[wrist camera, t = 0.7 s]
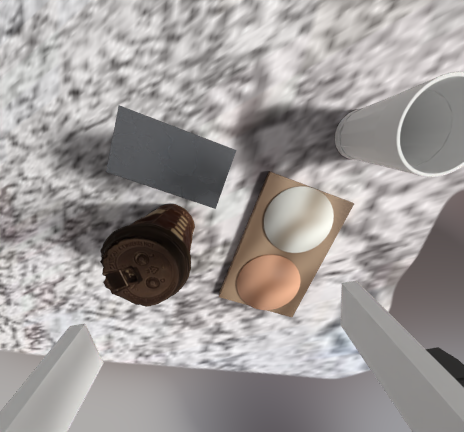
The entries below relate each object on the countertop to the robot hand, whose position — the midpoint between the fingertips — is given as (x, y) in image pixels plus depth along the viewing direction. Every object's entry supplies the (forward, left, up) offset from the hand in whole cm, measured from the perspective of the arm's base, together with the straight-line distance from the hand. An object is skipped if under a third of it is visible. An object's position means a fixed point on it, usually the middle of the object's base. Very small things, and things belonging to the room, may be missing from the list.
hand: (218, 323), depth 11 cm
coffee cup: (-6, -5, -22) cm, 23 cm away
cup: (+14, +16, -22) cm, 30 cm away
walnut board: (+11, -3, -21) cm, 24 cm away
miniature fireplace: (-6, +5, -21) cm, 23 cm away
